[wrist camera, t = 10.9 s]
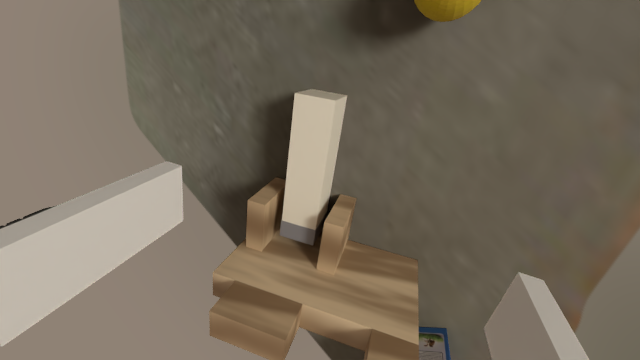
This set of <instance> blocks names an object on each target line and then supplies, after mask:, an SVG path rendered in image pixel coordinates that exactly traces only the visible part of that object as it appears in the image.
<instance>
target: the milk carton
mask: <svg viewBox="0 0 640 360" xmlns="http://www.w3.org/2000/svg"><path fill="white" fill-rule="evenodd" d="M419 360H451V358H450V351H449V344H448V337H447V330H446V328H429V327H419Z"/></svg>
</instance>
